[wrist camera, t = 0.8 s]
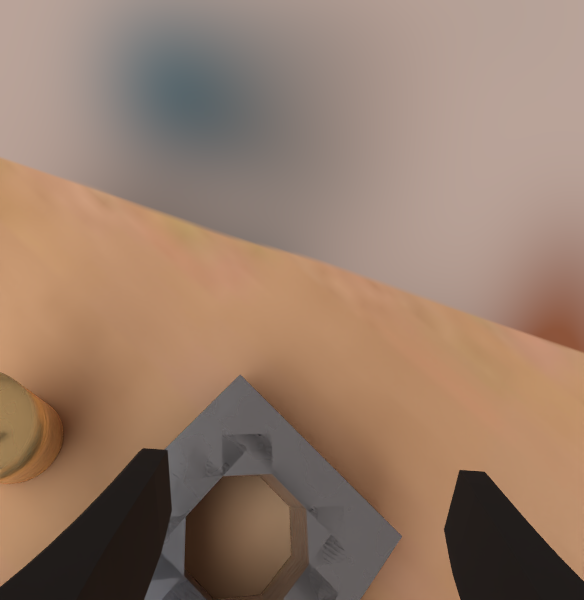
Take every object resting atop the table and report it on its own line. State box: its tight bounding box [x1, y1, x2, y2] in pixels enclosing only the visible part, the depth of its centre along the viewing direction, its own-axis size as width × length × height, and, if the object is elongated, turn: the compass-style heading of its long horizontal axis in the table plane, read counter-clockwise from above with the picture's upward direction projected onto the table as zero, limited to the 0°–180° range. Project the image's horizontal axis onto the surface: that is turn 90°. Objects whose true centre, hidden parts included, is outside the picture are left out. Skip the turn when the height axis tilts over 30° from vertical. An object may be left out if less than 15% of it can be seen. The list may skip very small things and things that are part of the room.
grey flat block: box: [144, 375, 402, 600], centre depth 23 cm, size 18×12×4 cm, turn 138°
